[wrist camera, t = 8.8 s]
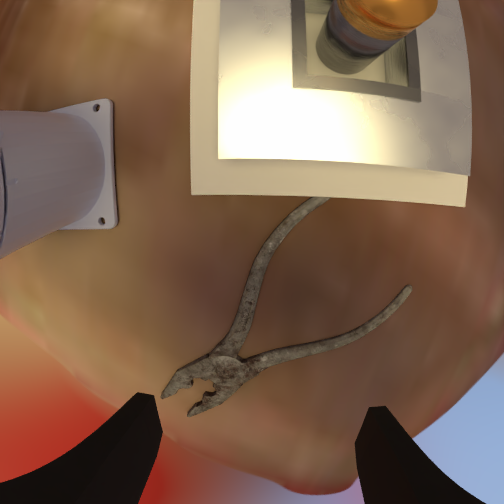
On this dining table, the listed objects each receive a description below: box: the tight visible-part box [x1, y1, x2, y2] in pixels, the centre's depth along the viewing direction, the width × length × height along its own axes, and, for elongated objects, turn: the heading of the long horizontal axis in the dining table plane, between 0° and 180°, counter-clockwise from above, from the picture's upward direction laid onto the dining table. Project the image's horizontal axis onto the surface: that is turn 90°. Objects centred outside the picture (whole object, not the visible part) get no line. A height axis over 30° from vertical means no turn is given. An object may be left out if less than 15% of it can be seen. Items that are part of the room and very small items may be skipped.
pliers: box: [160, 196, 412, 417], centre depth 20 cm, size 10×1×20 cm
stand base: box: [190, 0, 468, 207], centre depth 14 cm, size 16×16×1 cm
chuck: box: [218, 0, 472, 176], centre depth 12 cm, size 12×12×3 cm
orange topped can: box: [316, 0, 438, 75], centre depth 10 cm, size 3×3×8 cm
